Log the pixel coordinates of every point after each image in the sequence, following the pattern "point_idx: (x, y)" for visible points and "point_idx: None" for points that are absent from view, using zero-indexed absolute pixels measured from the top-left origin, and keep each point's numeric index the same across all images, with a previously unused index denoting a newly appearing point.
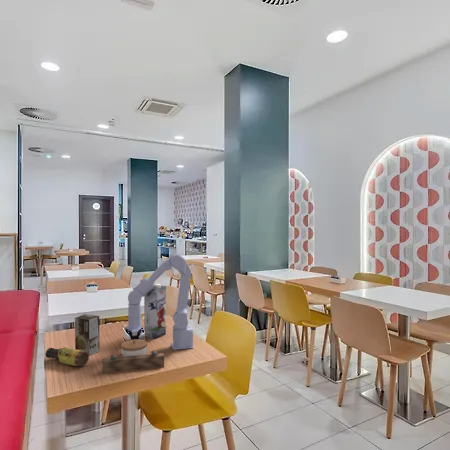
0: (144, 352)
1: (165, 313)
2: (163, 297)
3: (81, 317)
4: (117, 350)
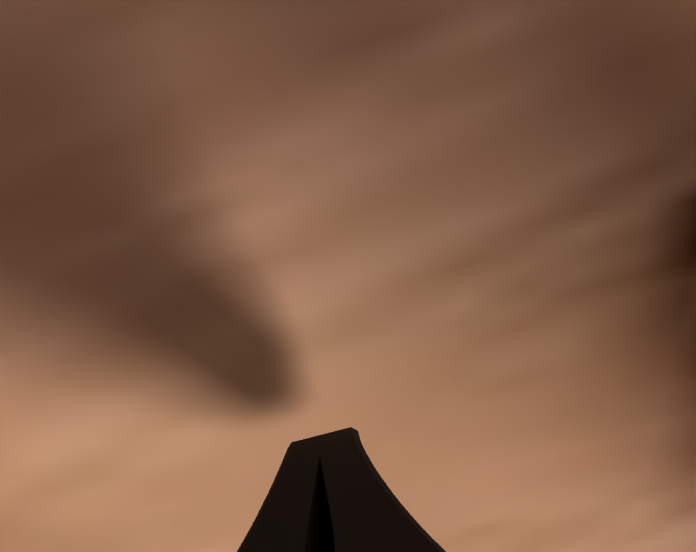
0: None
1: None
2: None
3: None
4: (339, 42)
